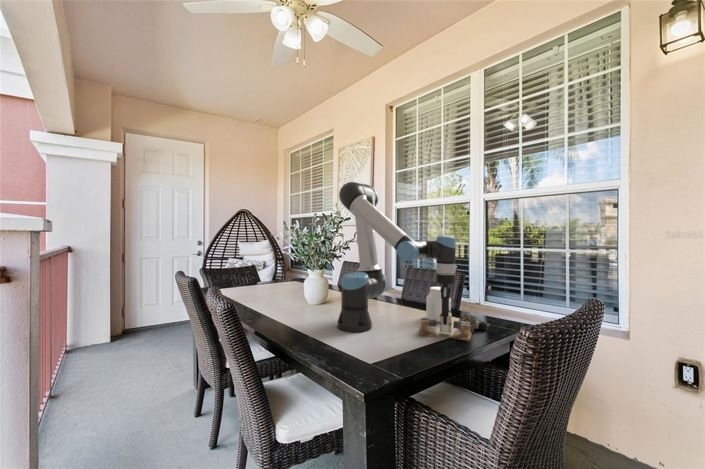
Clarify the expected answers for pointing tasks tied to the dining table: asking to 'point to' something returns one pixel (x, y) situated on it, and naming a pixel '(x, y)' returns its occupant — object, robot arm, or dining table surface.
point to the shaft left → (425, 327)
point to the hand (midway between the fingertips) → (445, 330)
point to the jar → (434, 304)
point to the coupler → (449, 322)
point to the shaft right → (462, 330)
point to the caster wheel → (473, 322)
